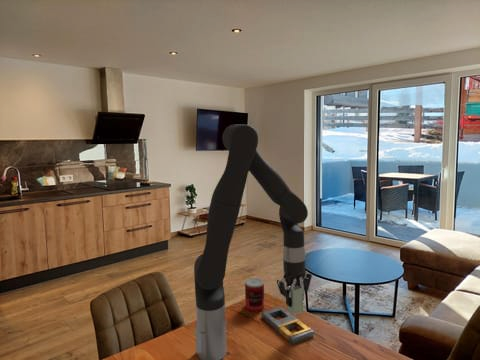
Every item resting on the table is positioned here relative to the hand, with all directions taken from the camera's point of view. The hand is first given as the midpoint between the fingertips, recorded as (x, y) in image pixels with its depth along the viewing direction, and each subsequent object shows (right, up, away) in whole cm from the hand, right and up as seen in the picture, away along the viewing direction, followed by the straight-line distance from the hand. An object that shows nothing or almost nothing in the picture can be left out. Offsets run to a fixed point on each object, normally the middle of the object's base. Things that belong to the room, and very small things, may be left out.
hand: (294, 304), depth 120 cm
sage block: (0, -3, 0) cm, 3 cm away
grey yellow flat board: (-2, -10, +6) cm, 12 cm away
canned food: (-13, -9, +21) cm, 26 cm away
